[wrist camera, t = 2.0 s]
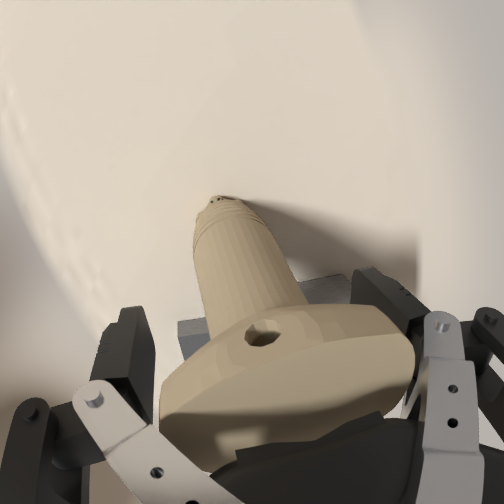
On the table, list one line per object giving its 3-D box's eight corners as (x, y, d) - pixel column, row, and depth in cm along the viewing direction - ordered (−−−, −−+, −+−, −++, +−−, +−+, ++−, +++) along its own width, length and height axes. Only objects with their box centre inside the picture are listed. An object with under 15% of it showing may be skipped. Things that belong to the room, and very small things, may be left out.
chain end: (172, 303, 22) (172, 338, 18) (328, 276, 23) (351, 305, 20) (198, 393, 26) (202, 428, 23) (320, 369, 28) (336, 399, 24)
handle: (161, 201, 19) (119, 405, 5) (259, 166, 19) (421, 294, 5) (189, 266, 21) (210, 485, 7) (278, 233, 21) (406, 412, 8)
